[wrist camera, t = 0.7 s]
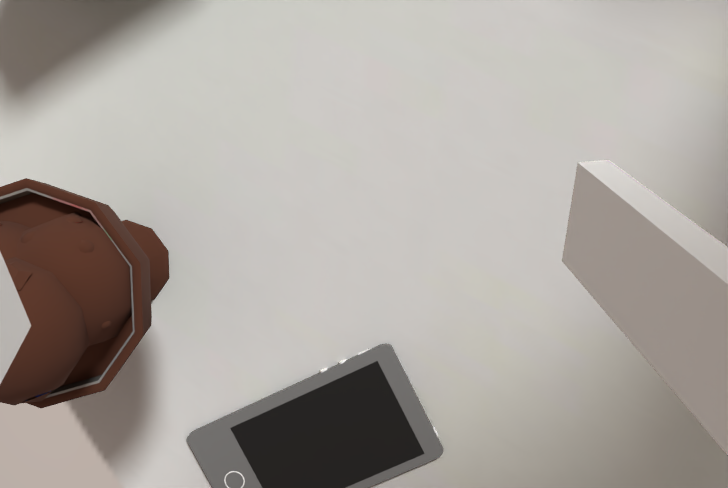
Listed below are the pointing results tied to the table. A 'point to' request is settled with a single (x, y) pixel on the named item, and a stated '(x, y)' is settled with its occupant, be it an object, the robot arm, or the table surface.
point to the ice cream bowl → (74, 290)
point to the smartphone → (323, 431)
